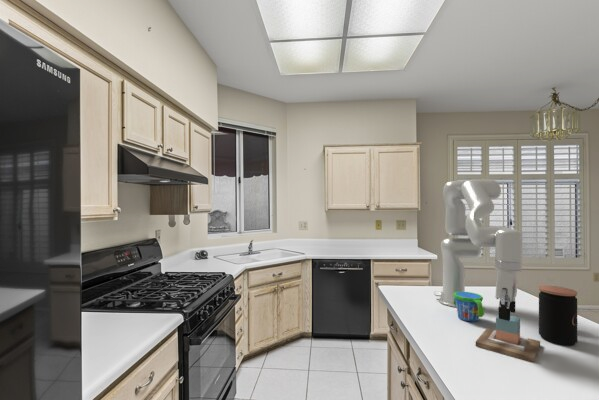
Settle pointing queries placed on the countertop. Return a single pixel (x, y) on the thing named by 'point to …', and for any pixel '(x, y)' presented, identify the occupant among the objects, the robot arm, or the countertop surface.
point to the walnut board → (509, 346)
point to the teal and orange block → (508, 330)
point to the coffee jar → (558, 315)
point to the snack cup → (468, 306)
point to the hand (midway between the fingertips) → (507, 315)
